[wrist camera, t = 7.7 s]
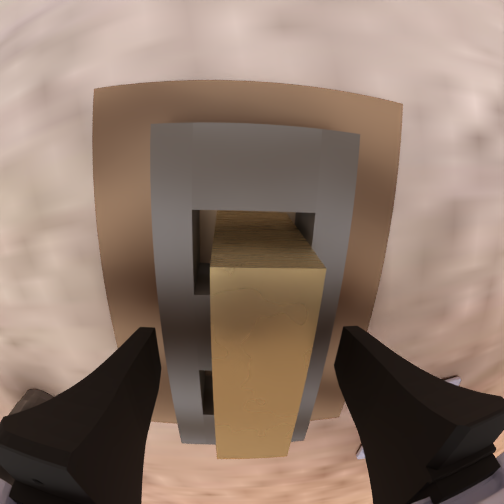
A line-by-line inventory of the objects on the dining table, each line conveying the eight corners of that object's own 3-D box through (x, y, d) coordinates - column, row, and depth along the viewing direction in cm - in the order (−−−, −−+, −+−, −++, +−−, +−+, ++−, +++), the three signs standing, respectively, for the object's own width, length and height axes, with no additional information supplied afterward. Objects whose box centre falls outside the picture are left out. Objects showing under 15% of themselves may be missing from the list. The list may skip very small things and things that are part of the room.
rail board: (335, 407, 20) (350, 448, 16) (141, 409, 19) (131, 453, 15) (392, 104, 13) (440, 100, 9) (102, 91, 12) (62, 79, 8)
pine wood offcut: (270, 369, 17) (286, 456, 11) (217, 370, 16) (217, 458, 11) (285, 212, 14) (326, 268, 8) (217, 210, 13) (210, 267, 8)
